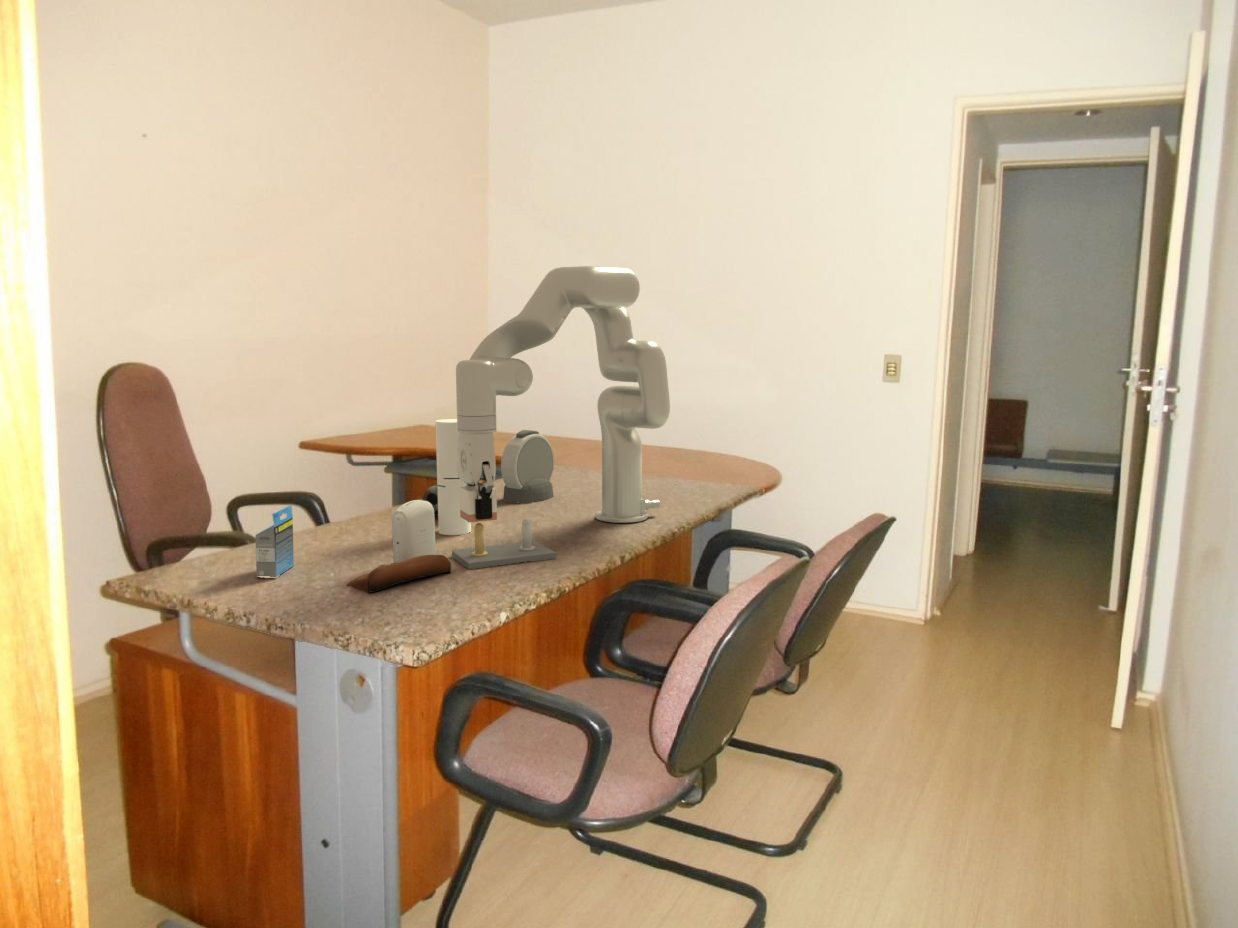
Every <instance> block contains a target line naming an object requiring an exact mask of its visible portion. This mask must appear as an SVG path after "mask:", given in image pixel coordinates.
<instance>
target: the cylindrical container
mask: <svg viewBox="0 0 1238 928" xmlns="http://www.w3.org/2000/svg"><path fill="white" fill-rule="evenodd" d="M434 421H435V445H436V447H435V451H436V454H435V455H436V480H437V481H436V482H437V483H436V484H437V485H436V486H437V489H438V515H437V517H438V519H437V520H438V534H440V535H444V536H461V535H467V534H469V532H470V533H471V532H472V522H468V521H466V520H464V519H463V518H461V517H460V487H465V483H464V481H463V480H461V479H460V478H459V477H458V442H459V432H457V418H447V419H446V418H444V419H443V418H442V419H437V420H434Z"/></svg>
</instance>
